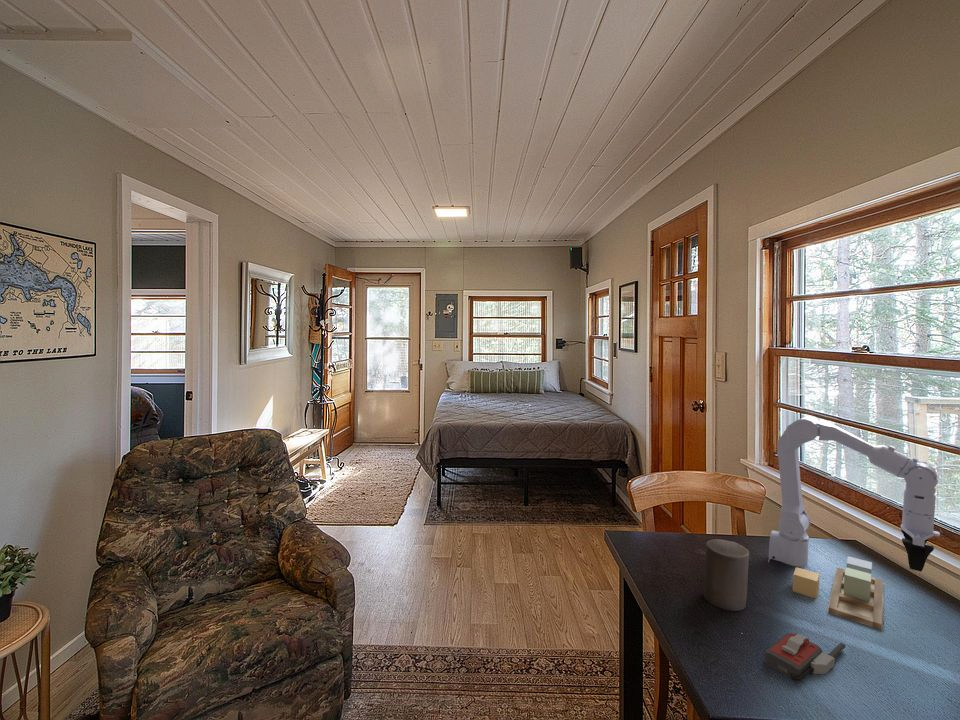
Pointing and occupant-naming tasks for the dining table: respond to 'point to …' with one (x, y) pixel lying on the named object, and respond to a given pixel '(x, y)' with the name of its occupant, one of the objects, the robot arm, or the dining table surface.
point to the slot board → (857, 602)
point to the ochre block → (806, 582)
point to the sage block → (857, 584)
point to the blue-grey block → (859, 564)
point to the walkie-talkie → (799, 657)
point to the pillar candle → (726, 574)
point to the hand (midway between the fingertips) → (914, 564)
